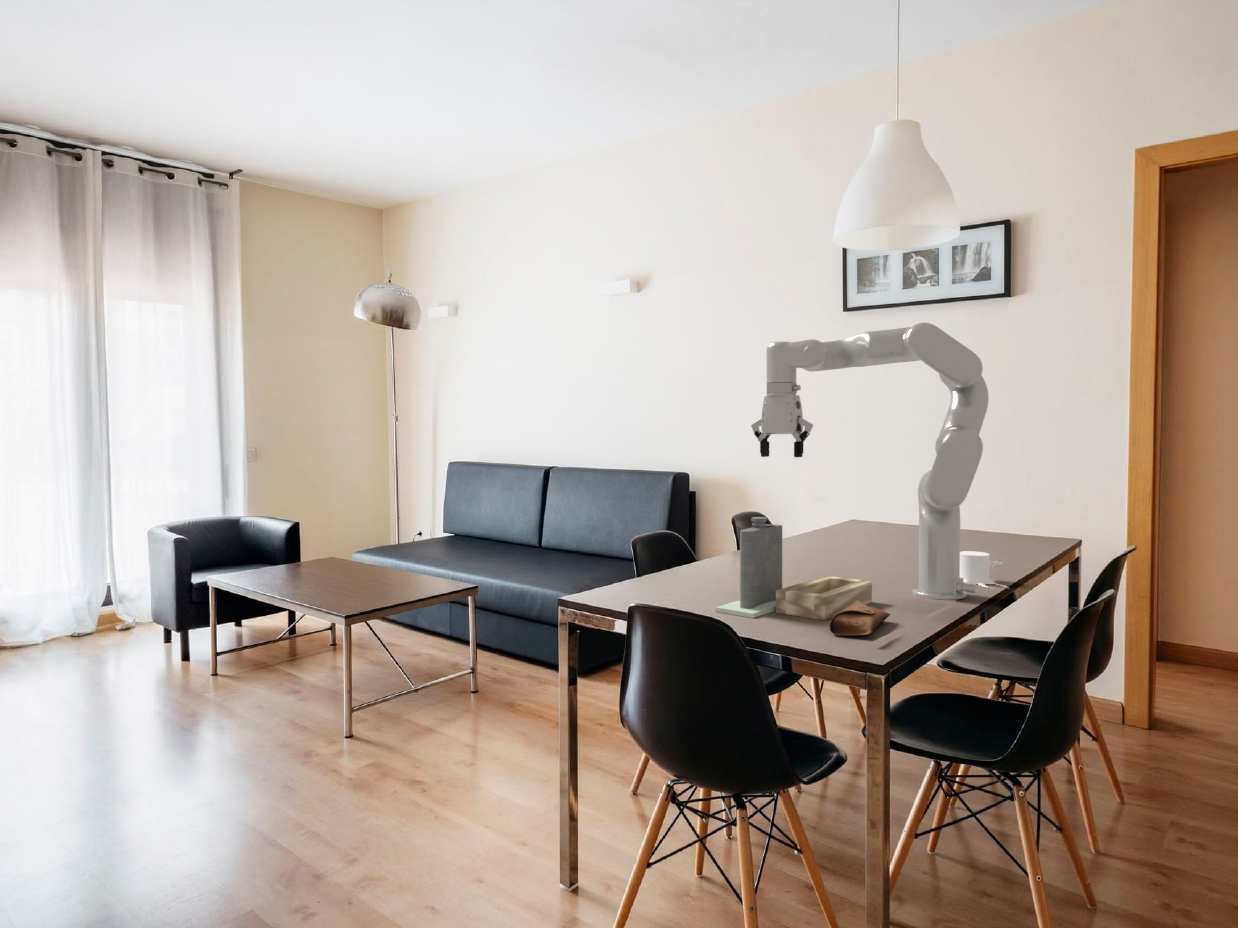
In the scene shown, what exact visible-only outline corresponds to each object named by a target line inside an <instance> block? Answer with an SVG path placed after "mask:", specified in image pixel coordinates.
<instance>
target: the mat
mask: <svg viewBox="0 0 1238 928" xmlns="http://www.w3.org/2000/svg"><path fill="white" fill-rule="evenodd" d="M714 609H715V612H716V613H722V614H728V615H734V616H740V617H745V618H751V619H755V618H757V617H761V616H763V615H767V614H771V613H773V612H776V600H774V601H770V602H767V603H764V604H761V605H758V606H756V607H754V608H751V609H745V608H741V607H740V599H739V600H736V601H732V602H728V603H726V604H722V605H719V606H716V607H715V608H714Z"/></svg>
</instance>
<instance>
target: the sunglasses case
mask: <svg viewBox="0 0 1238 928" xmlns="http://www.w3.org/2000/svg"><path fill="white" fill-rule="evenodd" d="M890 616H891V613H889V612H887V611H885V610H882V609H879V608H876V607H872V606H869V605H868V604H864V603H862V602H860V601H858V600H856V601H855V602H854V603H853V604H852V605H850V606H848V607H847V608H845V609H844V610H843V611H842V612H840V613H838V614H836V615H835V616H834V617H832V618H831V620H830V622H829V630H830V632H831V633H832V634H833V635H834V636H837V637H838V636H842V637H857V636H865V635H867V636H868V635H870V634H872V633H873V631H874V630H875V629H876V628H877V627H878V626H880V625H881V624H882V623H883V622H885V621H886V620H887V619H888V618H889V617H890Z"/></svg>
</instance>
